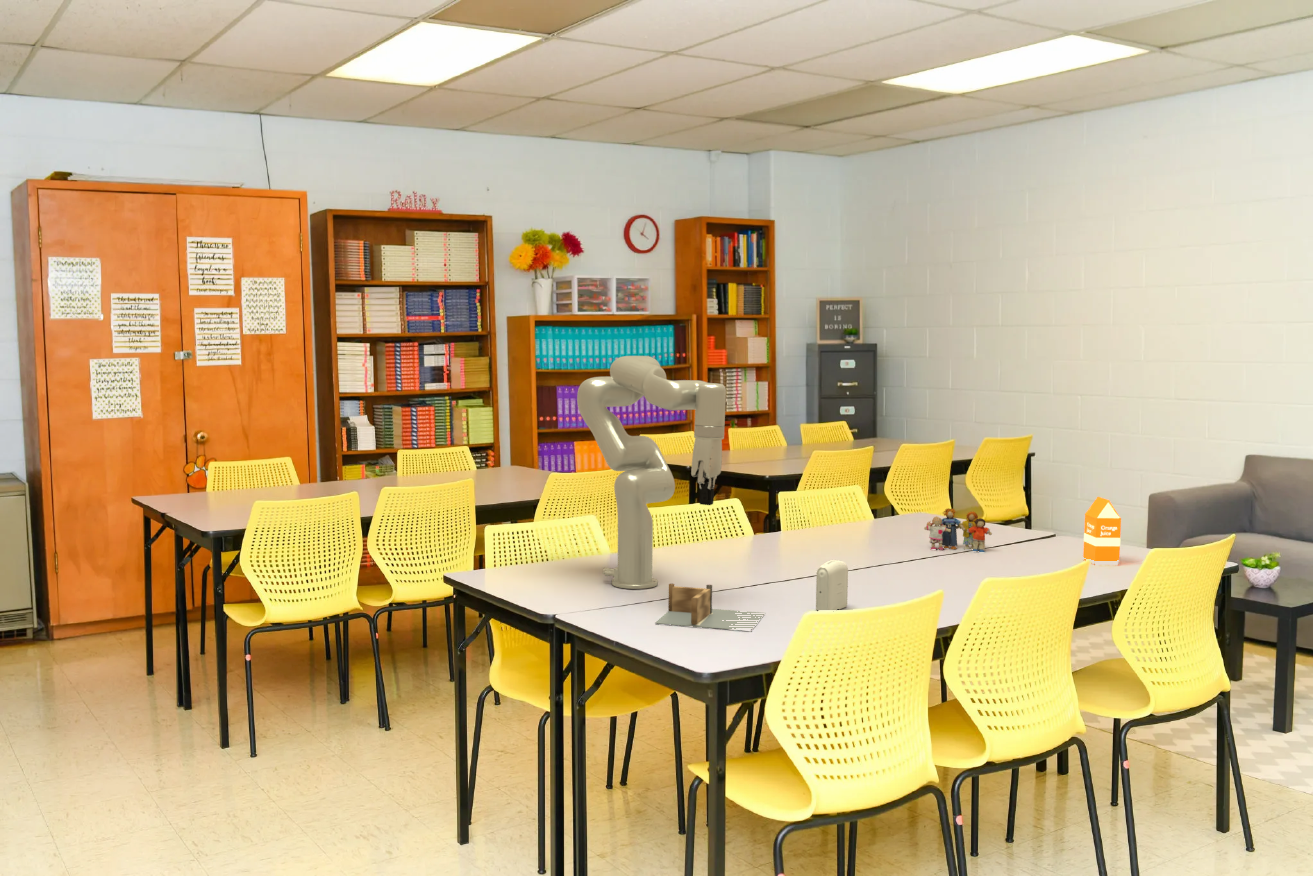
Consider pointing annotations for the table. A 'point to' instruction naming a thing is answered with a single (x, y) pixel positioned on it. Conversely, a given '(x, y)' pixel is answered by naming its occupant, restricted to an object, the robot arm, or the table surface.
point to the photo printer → (832, 585)
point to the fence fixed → (684, 597)
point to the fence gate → (700, 606)
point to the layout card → (709, 619)
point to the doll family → (948, 534)
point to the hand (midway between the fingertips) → (706, 504)
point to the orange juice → (1102, 532)
